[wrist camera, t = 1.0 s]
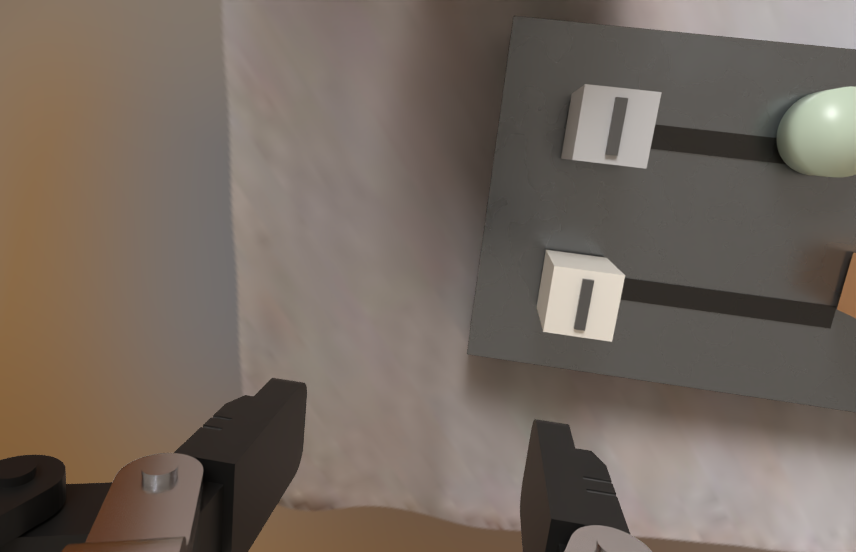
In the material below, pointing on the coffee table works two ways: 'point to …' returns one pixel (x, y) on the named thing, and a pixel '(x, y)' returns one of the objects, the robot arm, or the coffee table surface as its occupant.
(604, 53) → the panel
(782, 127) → the pale green dome
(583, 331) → the ivory slider
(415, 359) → the coffee table surface
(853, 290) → the tan box with strip
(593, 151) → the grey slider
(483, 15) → the coffee table surface
